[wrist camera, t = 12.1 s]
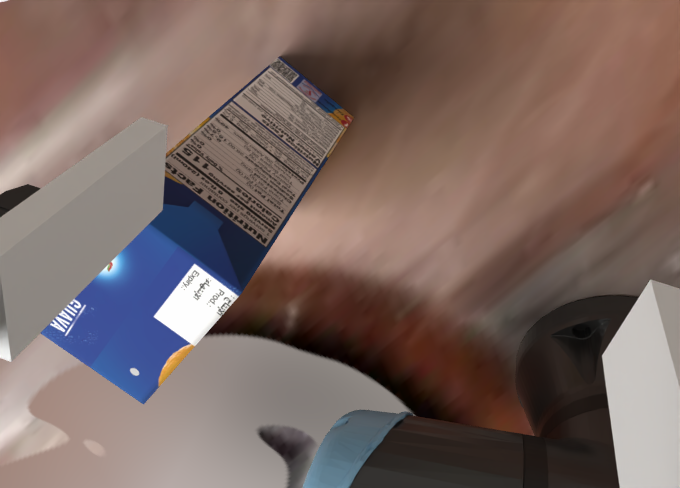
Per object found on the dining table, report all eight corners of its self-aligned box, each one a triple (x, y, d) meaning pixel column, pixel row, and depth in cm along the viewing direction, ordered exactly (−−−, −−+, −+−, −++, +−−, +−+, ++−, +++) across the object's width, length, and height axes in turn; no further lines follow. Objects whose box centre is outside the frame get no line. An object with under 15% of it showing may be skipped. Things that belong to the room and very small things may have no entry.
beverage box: (355, 116, 46) (242, 292, 28) (276, 211, 52) (142, 405, 34) (280, 55, 45) (114, 196, 27) (209, 159, 51) (35, 331, 33)
